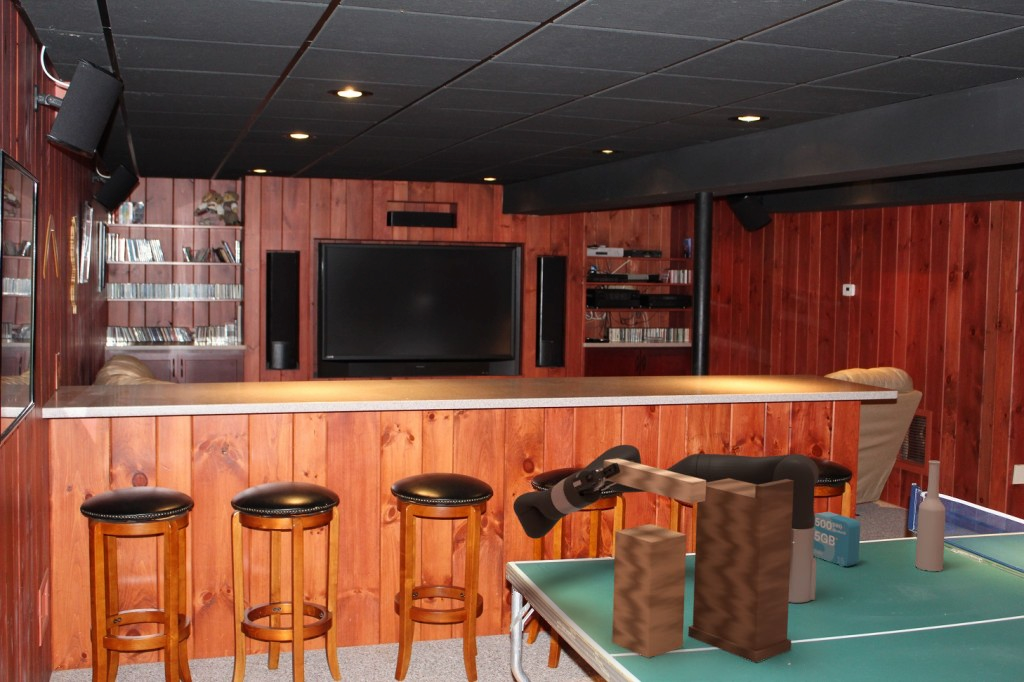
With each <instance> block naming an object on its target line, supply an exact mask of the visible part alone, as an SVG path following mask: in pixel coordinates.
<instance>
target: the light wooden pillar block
mask: <svg viewBox="0 0 1024 682" xmlns="http://www.w3.org/2000/svg"><path fill="white" fill-rule="evenodd" d="M614 534H615V535H614V565H613V566H614V568H613V569H614V571H613V572H614V573H613V601H612V603H613V606H612V633H611V634H612V638H611V639H612V641H611V642H612V643H613V644H615V645H618V646H619V647H622V648H624V649H626V650H628V649H629V650H628V651H631V652H633V653H635V652H636V654H637V653H638V655H640V654H641V655H640V656H642V655H643V657H644V656H646V657H645V658H647V657H651V658H652V656H654V657H656V656H659V655H662V654H666V653H669V652H671V651H674V650H678V649H679V648H683V646H684V621H685V619H684V617H685V616H684V615H685V593H686V591H685V590H686V564H687V563H686V561H687V560H686V559H687V557H686V556H687V534H685V533H683V532H680V531H679V532H678V531H675V530H672V529H669V528H666V527H662V526H659V525H655V524H652V523H649V524H648V523H647V524H643V525H638V526H633V527H628V528H624V529H623V528H622V529H619V530H615V533H614Z"/></svg>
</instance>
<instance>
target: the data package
mask: <svg viewBox="0 0 1024 682" xmlns="http://www.w3.org/2000/svg"><path fill="white" fill-rule="evenodd" d="M814 515H815V526H814V548H813V557H814V556H816V557H818V558H822V559H824V560H828V561H831V562H834V563H837V564H840V565H842V566H846V567H851V566H856V565H857V564H858V563H859V561H860V540H861V524H860V522H859V521H858V520H857V519H855V518H852V517H848V516H844V515H841V514H838V513H834V512H831V511H825V512H817V513H814ZM818 558H817V559H818ZM824 560H823V561H824ZM855 564H856V565H855ZM842 566H841V567H842Z"/></svg>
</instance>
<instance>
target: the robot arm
mask: <svg viewBox="0 0 1024 682" xmlns="http://www.w3.org/2000/svg"><path fill="white" fill-rule="evenodd" d="M616 458H619V459H623V460H627V461H630V462H635V463H639V464H642V458H641V454H640V450H639V449H638V448H637V447H636V446H634V445H631V444H618V445H616V446H612V447H610V448H609V449H607V450H605V451H604V452H603V453H602V454H601V453H600V455H599V456H597V457H596V458H595V459H594V460H592V461H591V462H590V463H588V465H586V466H585V467H584V468H582V469H580V470H578V471H576V472H574V473H573V474H571V475H569V476H567V477H565V478H563V479H562V480H560V481H559V482H558V483H556V484H555V485H553V486H551V487H549V488H547V489H546V490H541V491H539V490H537V491H528V492H525V493H522V494H520V495H519V496H518V497H516V498H515V500H514V503H513V511H514V513H515V515H516V517H517V519H518V521H519V523H520V525H521V527H522V529H523V531H524V533H525V535H526V536H527V537H529V538H530V539H533V540H534V539H535V540H537V539H541V538H542V537H544V536H546V535H547V534H549V532H550V531H551V530H552V529H553V528H554V527H555V526H556V524H557V523H558V522H559V521H560V520H561V519H563V518H565V517H566V516H568V515H570V514H572V513H576V512H579V511H581V510H582V509H584V508H587V507H589V506H591V505H593V504H594V503H596V502H598V501H599V500H600V499H601V497H602V493H603V491H605V490H608V489H609V490H610V491H613V492H616V493H628V494H629V493H644V492H645V493H646V492H647V491H644V490H640V489H637V488H633V487H629V486H626V485H622V484H619V483H615V482H611V481H608V480H607V478H611V477H612V476H614V475H616V474H618V473H620V469H619V466H618V463H613V464H611V465H609V466H607V467H605V468H604V460H609V459H616ZM666 470H667V471H671V472H675V473H679V474H683V475H687V476H691V477H695V478H699V479H703V480H706V483H707V482H712V481H718V480H723V479H729V478H730V479H734V480H738V481H743V482H747V483H752V484H756V485H759V484H765V483H770V482H775V481H780V480H785V479H789V480H793V481H794V486H793V510H792V533H791V557H790V581H789V603H798V604H799V603H800V604H801V603H806V602H809V601H815V600H816V582H817V558H815V557H814V556H813V548H814V526H815V509H814V508H815V507H814V506H815V487H816V483H817V481H818V479H819V467H818V465H817V464H816V462H815V461H814V460H813V459H812V458H810V457H809V456H807V455H805V454H801V453H792V454H791V453H790V454H782V455H770V456H747V455H738V454H737V455H735V454H734V455H733V454H722V453H717V454H716V453H694V454H693V453H692V454H690V455H688V456H686V457H684V458H682V459H681V460H678V461H677V462H676V463H674V464H673V465H672V466H670V467H668V468H666Z"/></svg>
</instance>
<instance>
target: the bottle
mask: <svg viewBox="0 0 1024 682" xmlns="http://www.w3.org/2000/svg"><path fill="white" fill-rule="evenodd" d="M928 463H929V466H928V468H929V470H928V471H929V472H928V482H927V483H928V485H927V491H926V497H925V499H924V500H922V501H921V502H920V504H919V505H918V515H917V517H918V518H917V533H916V546H915V547H916V548H915V549H916V550H915V565H914V566H916V567H917V568H919V569H918V570H920V569H923V570H929V571H940V570H942V571H944V554H945V553H944V552H945V532H946V529H945V528H946V507H945V505H944V503H943V502H942V501H941V498H940V495H939V494H940V490H939V488H940V487H939V485H940V483H939V482H940V481H939V480H940V466H941V465H940V464H941V462H940V461H939V460H934V459H933V460H928ZM916 567H915V568H916ZM917 568H916V569H917ZM923 570H922V571H923ZM940 572H941V571H940Z"/></svg>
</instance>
